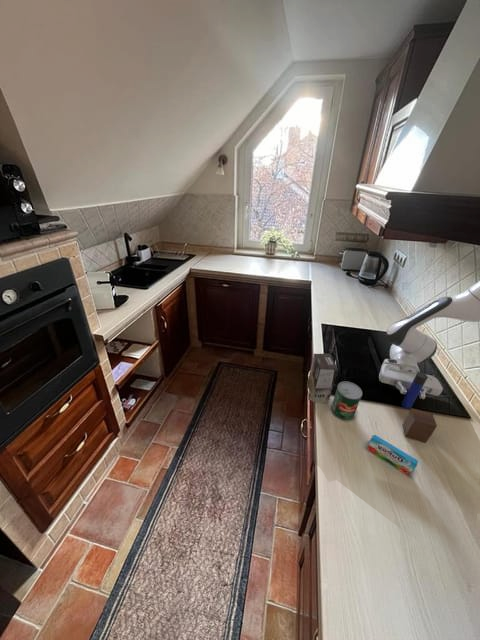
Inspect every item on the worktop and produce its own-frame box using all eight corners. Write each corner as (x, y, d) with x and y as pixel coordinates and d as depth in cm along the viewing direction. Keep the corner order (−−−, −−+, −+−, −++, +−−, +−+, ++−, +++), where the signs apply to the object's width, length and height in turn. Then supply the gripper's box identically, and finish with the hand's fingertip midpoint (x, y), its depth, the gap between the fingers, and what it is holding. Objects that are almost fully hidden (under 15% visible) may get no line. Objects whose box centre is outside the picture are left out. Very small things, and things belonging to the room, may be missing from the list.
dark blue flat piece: (399, 407, 95) (404, 373, 98) (409, 409, 94) (413, 375, 97) (414, 409, 83) (418, 370, 86) (425, 412, 82) (429, 373, 85)
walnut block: (402, 424, 86) (411, 408, 82) (422, 430, 85) (432, 413, 80) (404, 437, 82) (414, 420, 78) (425, 443, 81) (437, 426, 76)
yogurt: (365, 449, 78) (371, 437, 75) (367, 446, 79) (373, 433, 76) (409, 477, 72) (417, 464, 68) (410, 473, 73) (418, 460, 69)
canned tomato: (344, 400, 95) (351, 379, 89) (358, 417, 88) (367, 395, 83) (326, 405, 93) (332, 383, 87) (339, 423, 86) (347, 401, 81)
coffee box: (329, 402, 94) (338, 370, 85) (311, 402, 94) (319, 369, 85) (322, 384, 102) (331, 353, 93) (306, 384, 102) (313, 352, 93)
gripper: (432, 383, 100) (443, 409, 88) (376, 369, 105) (379, 393, 94) (439, 371, 96) (451, 397, 85) (380, 358, 102) (384, 381, 91)
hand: (413, 395), depth 90 cm, fingers open, 4 cm apart
